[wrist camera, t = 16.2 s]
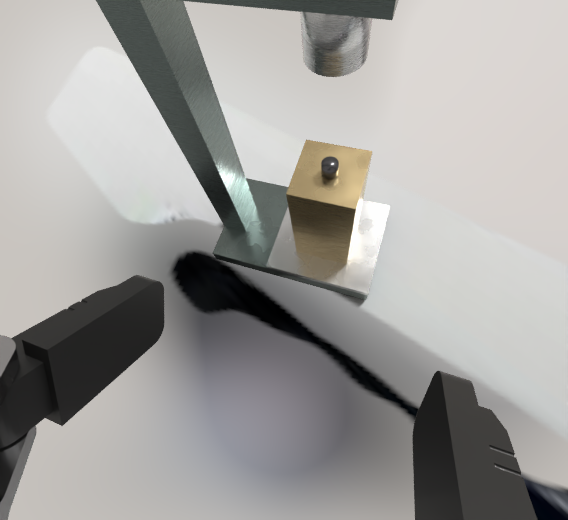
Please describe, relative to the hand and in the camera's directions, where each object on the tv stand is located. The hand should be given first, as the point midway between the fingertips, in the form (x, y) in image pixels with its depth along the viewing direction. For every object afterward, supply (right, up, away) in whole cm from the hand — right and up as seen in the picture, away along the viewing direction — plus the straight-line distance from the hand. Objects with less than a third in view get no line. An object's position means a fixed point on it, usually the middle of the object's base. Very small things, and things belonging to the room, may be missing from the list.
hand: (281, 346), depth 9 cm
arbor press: (+3, +7, +27) cm, 28 cm away
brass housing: (+4, +5, +24) cm, 25 cm away
